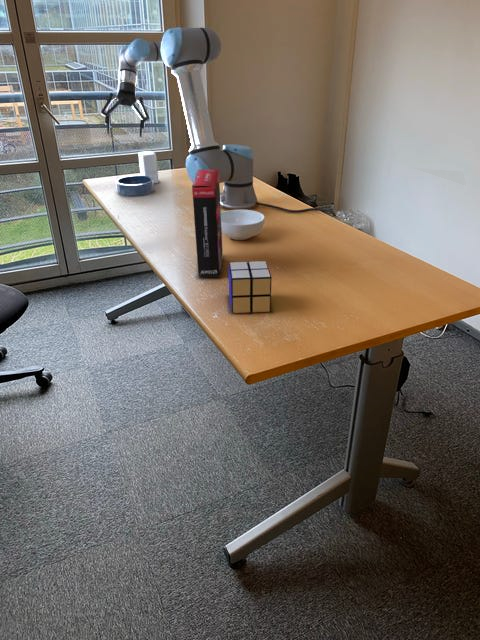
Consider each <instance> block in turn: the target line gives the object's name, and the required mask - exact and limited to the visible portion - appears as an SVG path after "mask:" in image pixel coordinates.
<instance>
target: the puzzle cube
mask: <svg viewBox="0 0 480 640" xmlns="http://www.w3.org/2000/svg"><path fill="white" fill-rule="evenodd" d="M272 281H273V280H272V275H271V272H270V268H269V265H268V262H267V261H266V260H265V261H263V260H262V261H261V260H260V261H259V260H258V261H248V262H247V261H235V262H234V261H233V262H229V263H228V297H229V303H230V310H231V314H233V315H234V314H250V313H252V314H254V313H256V314H257V313H270V312H271V311H272V295H271V294H272Z"/></svg>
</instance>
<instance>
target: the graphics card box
mask: <svg viewBox="0 0 480 640" xmlns="http://www.w3.org/2000/svg"><path fill="white" fill-rule="evenodd" d="M220 186H221V185H220V183H219V171H217V170H198V172H197V173H196V176H195V179H194V182H192V185H191V193H192V205H193V221H194V233H195V234H194V235H195V247H196V260H197V261H196V262H197V274H198V278H203V279H204V278H220V277H221V271H222V261H223V255H224V254H223V234H222V229H221V212H222V209H221V208H222V207H221V206H220V197H221V196H220V193H221V187H220Z"/></svg>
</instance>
